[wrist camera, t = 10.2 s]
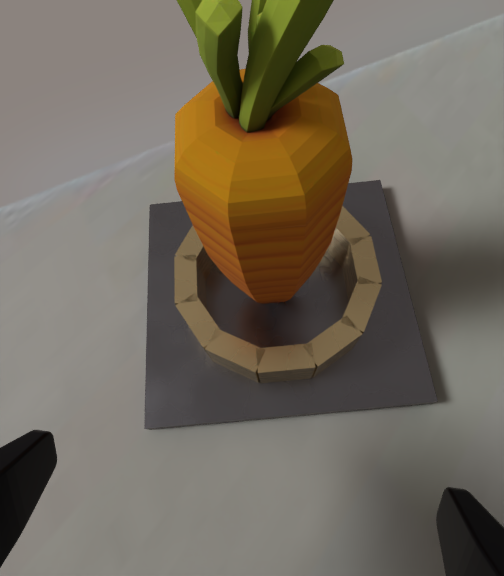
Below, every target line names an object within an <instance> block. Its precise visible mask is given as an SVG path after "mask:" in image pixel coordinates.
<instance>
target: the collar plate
mask: <svg viewBox="0 0 504 576" xmlns="http://www.w3.org/2000/svg"><path fill="white" fill-rule="evenodd" d="M435 402H438V401H437V397H436V393H435V389H434V386H433V382H432V378H431V374H430V370H429V366H428V362H427V359H426V355H425V351H424V347H423V343H422V339H421V335H420V332H419V328H418V324H417V320H416V316H415V312H414V308H413V305H412V301H411V297H410V293H409V289H408V285H407V281H406V278H405V274H404V270H403V266H402V262H401V258H400V254H399V251H398V247H397V243H396V239H395V235H394V231H393V227H392V224H391V220H390V216H389V212H388V208H387V204H386V200H385V197H384V193H383V189H382V185H381V181H380V180H376V181H367V182H357V183H348V186H347V190H346V194H345V197H344V201H343V205H342V209H341V213H340V216H339V219H338V222H337V225H336V228H335V231H334V235H333V238H332V241H331V244H330V245H329V247H328V249H327V251H326V252H325V254H324V256H323V258H322V260H321V261H320V263H319V264H318V266H317V267H316V269H315V270H314V272H313V273H312V275H311V276H310V277H309V278H308V279H307V281H306V282H305V283H304V284H303V285H302V286H301V287H300V289H299V290H298V291H297V292H296V293H295V294H294V295H293V297H292V298H291V299H290V300H287V301H285V302H277V303H267V304H261V303H257V302H256V301H255V300H253V299H252V298H251V297H249V296H248V295H247V294H246V293H244V292H243V291H242V290H240V289H239V288H238V287H237V286H235V285H234V284H233V283H232V282H231V281H230V280H229V279H228V278H227V277H226V276H225V275H224V274H223V273H222V272H221V271H220V269H219V268H218V267H217V266H216V264H215V263H214V262H213V261H212V259H211V258H210V257H209V256H208V254H207V252H206V250H205V248H204V246H203V244H202V242H201V240H200V238H199V236H198V234H197V232H196V231H195V229H194V226H193V224H192V222H191V220H190V217H189V215H188V213H187V211H186V209H185V206H184V204H183V202H182V201H180V202H171V203H162V204H152V205H150V218H149V260H148V303H147V345H146V388H145V429H149V430H152V429H163V428H173V427H184V426H195V425H206V424H217V423H228V422H239V421H249V420H260V419H271V418H282V417H293V416H304V415H315V414H325V413H336V412H347V411H358V410H369V409H380V408H391V407H401V406H412V405H423V404H432V403H435Z"/></svg>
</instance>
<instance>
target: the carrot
mask: <svg viewBox="0 0 504 576" xmlns="http://www.w3.org/2000/svg"><path fill="white" fill-rule="evenodd" d="M177 2H178V4H179V5H180V7H181V9H182V11H183V13H184V15H185V17H186V19H187V21H188V23H189V24H190V26H191V28H192V30H193V32H194V34H195V36H196V38H197V42H198V47H199V52H200V56H201V58H202V60H203V62H204V64H205V66H206V68H207V71H208V73H209V75H210V76H211V78H212V80H213V81H212V82H211V83H210V84H209V85H208V86H206V87H205V88H204V89H203V90H202V91H200V92H199V93H198V94H197V95H196V96H195V97H193V98H192V99H191V100H190V101H189V102H188V103H186V104H185V105H184V106H183V107H182V108H181V109H180V110H179V111H178V112H177V113H176V116H175V183H176V187H177V191H178V193H179V195H180V197H181V200H182V202H183V204H184V206H185V209H186V211H187V213H188V215H189V217H190V220H191V222H192V224H193V226H194V229H195V231H196V232H197V234H198V236H199V238H200V240H201V242H202V244H203V246H204V248H205V250H206V252H207V254H208V256H209V257H210V258H211V259H212V261H213V262H214V263H215V264H216V266H217V267H218V268H219V269H220V271H221V272H222V273H223V274H224V275H225V276H226V277H227V278H228V279H229V280H230V281H231V282H232V283H233V284H234V285H235V286H237V287H238V288H239V289H240V290H242V291H243V292H244V293H246V294H247V295H248V296H249V297H251V298H252V299H253V300H255V301H256V302H257V303H261V304H267V303H277V302H285V301H287V300H290V299H291V298H292V297H293V295H294V294H295V293H296V292H297V291H298V290H299V289H300V287H301V286H302V285H303V284H304V283H305V282H306V281H307V279H308V278H309V277H310V276H311V275H312V273H313V272H314V270H315V269H316V267H317V266H318V264H319V263H320V261H321V260H322V258H323V256H324V254H325V252H326V251H327V249H328V247H329V245H330V244H331V241H332V238H333V235H334V231H335V228H336V225H337V222H338V219H339V216H340V213H341V209H342V205H343V201H344V197H345V194H346V190H347V186H348V182H349V178H350V175H351V171H352V155H351V150H350V145H349V140H348V136H347V132H346V127H345V123H344V118H343V114H342V109H341V105H340V101H339V96H338V95H337V94H336V93H334V92H333V91H331V90H330V89H328V88H327V87H325V86H323V85H321V84H319V83H318V82H319V81H321V80H322V79H324V78H325V77H327V76H328V75H329V74H330V73H332V72H334V71H335V70H336V69H338V68H339V67H340V66H342V65H343V64H344V61H343V56H342V52H341V51H339V50H338V49H336V48H334V47H332V46H331V45H321V46H319V47H317V48H315V49H313V50H311V51H309V52H307V53H306V54H305V55H304V56H303V57H302V58H300V59H299V60H298V58H299V56H300V55H301V53H302V52H303V50H304V48H305V47H306V45H307V44H308V42H309V40H310V39H311V37H312V36H313V34H314V32H315V31H316V29H317V28H318V26H319V25H320V23H321V21H322V20H323V18H324V17H325V15H326V13H327V11H328V9H329V8H330V6H331V4H332V2H333V0H252V3H251V11H250V19H249V27H248V46H249V56H248V60H247V65H246V69H241V70H239V63H238V56H237V54H238V45H239V39H240V31H241V19H242V6H241V4H240V2H239V1H238V0H177ZM297 60H298V61H297Z"/></svg>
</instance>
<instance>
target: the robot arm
mask: <svg viewBox="0 0 504 576" xmlns="http://www.w3.org/2000/svg"><path fill="white" fill-rule="evenodd" d="M56 463H57V454H56V448H55V443H54V438H53V435H52V433H51V432H49V431H42V430H33V431H30V432H28V433H27V434H25V435H23V436H21V437H19V438H17V439H16V440H14V441H12V442H10V443H8V444H6V445H5V446H3V447H1V448H0V567H1V566H2V564H3V562H4V561H5V559H6V558H7V556H8V554H9V553H10V551H11V550H12V548H13V547H14V545H15V543H16V542H17V540H18V538H19V537H20V535H21V533H22V531H23V530H24V528H25V526H26V524H27V522H28V520H29V518H30V516H31V514H32V512H33V510H34V509H35V507H36V505H37V503H38V501H39V499H40V497H41V495H42V493H43V491H44V489H45V487H46V485H47V483H48V481H49V479H50V477H51V475H52V473H53V471H54V469H55V467H56ZM436 522H437V529H438V535H439V540H440V546H441V551H442V556H443V562H444V567H445V573H446V576H504V527H503V526H502V525H501V524H500V523H499V522H498V521H497V520H496V519H495V518H494V517H493V516H492V515H491V514H490V513H489V512H488V511H487V510H486V509H485V508H484V507H483V506H482V505H481V504H480V503H479V502H478V501H477V500H476V499H475V498H474V496H473V495H472V494H471V493H469V492H468V491H467V490H464V489H458V488H451V487H448V488H446V489H445V490H444V492H443V495H442V499H441V502H440V505H439V508H438V511H437V517H436Z"/></svg>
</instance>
